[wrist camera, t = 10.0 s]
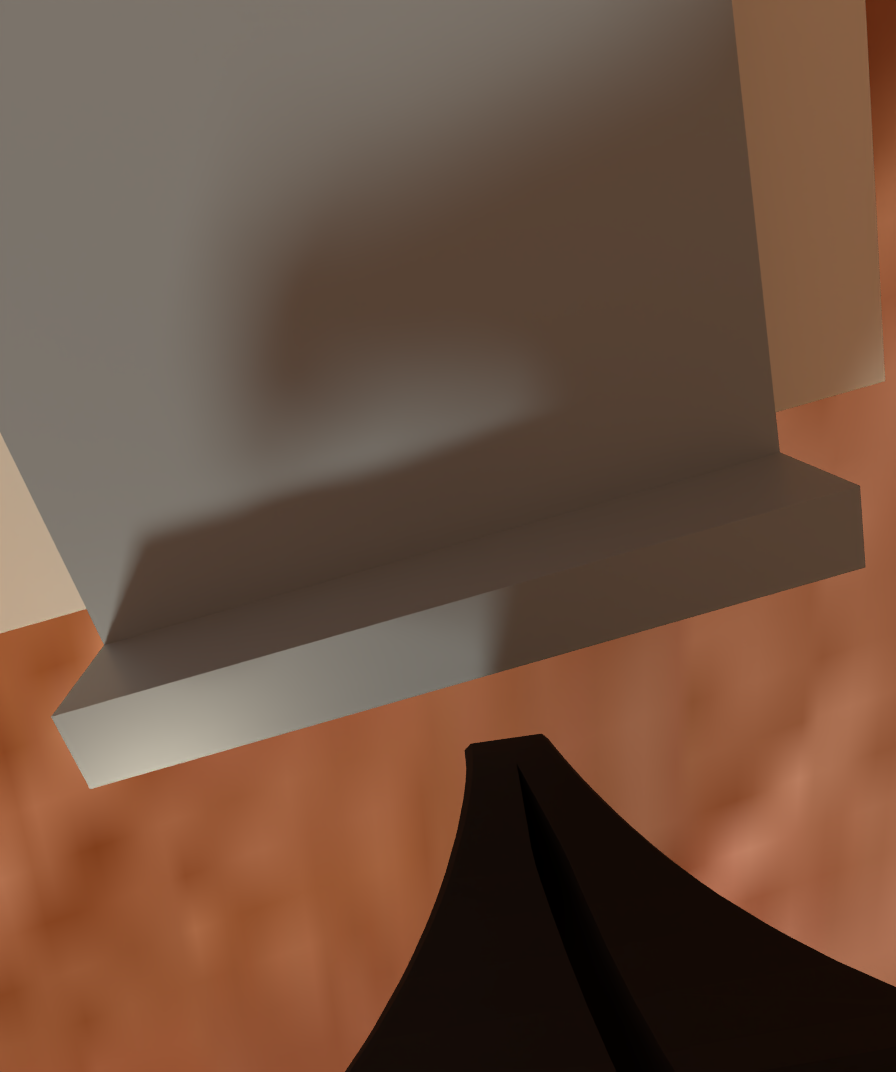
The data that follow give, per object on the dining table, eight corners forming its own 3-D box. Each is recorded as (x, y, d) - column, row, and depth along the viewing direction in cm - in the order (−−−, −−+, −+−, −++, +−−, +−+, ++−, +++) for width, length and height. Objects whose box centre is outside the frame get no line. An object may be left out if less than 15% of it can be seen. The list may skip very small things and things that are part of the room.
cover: (149, 682, 13) (90, 788, 10) (-213, -79, 9) (-464, -235, 6) (762, 507, 13) (865, 567, 10) (663, -326, 9) (788, -584, 6)
